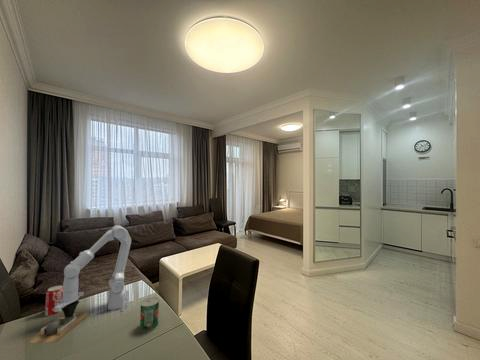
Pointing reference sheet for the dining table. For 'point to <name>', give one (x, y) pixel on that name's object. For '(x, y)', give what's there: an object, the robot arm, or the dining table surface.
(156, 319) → the canned tomato
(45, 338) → the board
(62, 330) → the c clip
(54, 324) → the grey rounded block
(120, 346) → the dining table surface
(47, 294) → the soda can
